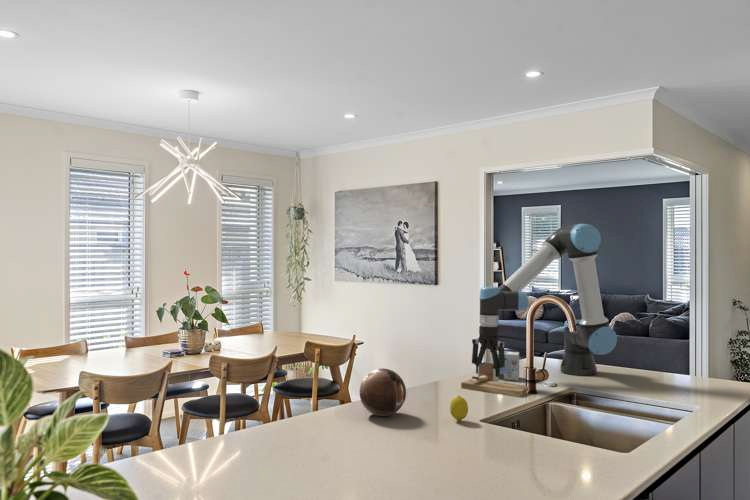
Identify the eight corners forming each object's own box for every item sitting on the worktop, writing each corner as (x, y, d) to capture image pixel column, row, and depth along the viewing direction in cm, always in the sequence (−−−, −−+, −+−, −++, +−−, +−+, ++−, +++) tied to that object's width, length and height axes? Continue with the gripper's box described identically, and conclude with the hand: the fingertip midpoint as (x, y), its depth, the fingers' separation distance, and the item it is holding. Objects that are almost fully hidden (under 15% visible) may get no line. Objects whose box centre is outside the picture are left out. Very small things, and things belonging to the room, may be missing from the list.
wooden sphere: (352, 412, 194) (351, 367, 194) (391, 407, 201) (391, 363, 201) (372, 424, 180) (372, 375, 180) (414, 418, 187) (414, 370, 187)
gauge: (483, 381, 238) (483, 362, 238) (497, 384, 235) (497, 364, 235) (466, 388, 228) (466, 367, 227) (480, 390, 224) (480, 369, 224)
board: (473, 383, 236) (473, 378, 236) (530, 391, 222) (530, 386, 222) (461, 387, 228) (461, 382, 228) (519, 397, 214) (519, 391, 214)
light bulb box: (492, 379, 244) (492, 353, 244) (493, 375, 251) (493, 350, 251) (518, 380, 241) (518, 354, 241) (519, 377, 248) (519, 351, 248)
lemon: (467, 424, 180) (467, 398, 180) (449, 423, 181) (449, 397, 181) (468, 419, 186) (468, 393, 186) (450, 418, 187) (450, 393, 187)
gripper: (463, 324, 238) (462, 381, 238) (506, 328, 226) (505, 389, 226) (472, 322, 244) (471, 378, 244) (515, 327, 232) (513, 385, 232)
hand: (487, 383), depth 235 cm, fingers closed on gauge, 6 cm apart
